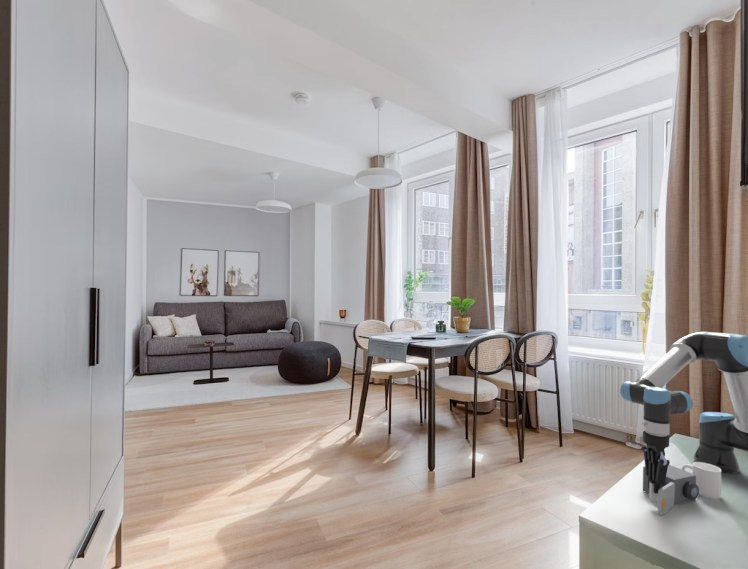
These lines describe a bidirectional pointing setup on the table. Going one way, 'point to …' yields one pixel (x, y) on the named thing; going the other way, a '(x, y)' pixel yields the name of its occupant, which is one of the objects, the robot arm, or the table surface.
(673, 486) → the side door
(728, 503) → the table surface
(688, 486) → the camera body
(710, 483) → the cup
